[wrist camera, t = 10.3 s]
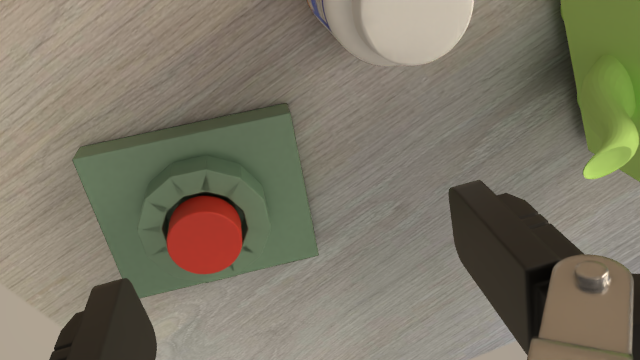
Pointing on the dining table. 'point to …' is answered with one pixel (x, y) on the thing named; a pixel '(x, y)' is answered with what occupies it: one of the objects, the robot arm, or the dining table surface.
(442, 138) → the dining table surface
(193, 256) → the button
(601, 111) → the kettle
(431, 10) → the pill bottle
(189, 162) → the control block
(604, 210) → the dining table surface
